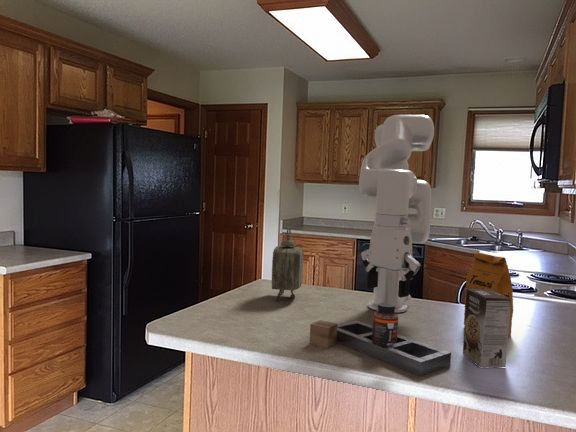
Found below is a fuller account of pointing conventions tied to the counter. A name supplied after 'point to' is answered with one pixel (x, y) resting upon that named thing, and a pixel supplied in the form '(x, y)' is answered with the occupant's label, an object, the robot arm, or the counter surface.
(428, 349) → the rail
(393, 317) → the supplement bottle
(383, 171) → the robot arm
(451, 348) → the counter surface
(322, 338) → the walnut block
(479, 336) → the coffee box
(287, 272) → the tabletop clock
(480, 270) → the coffee package
